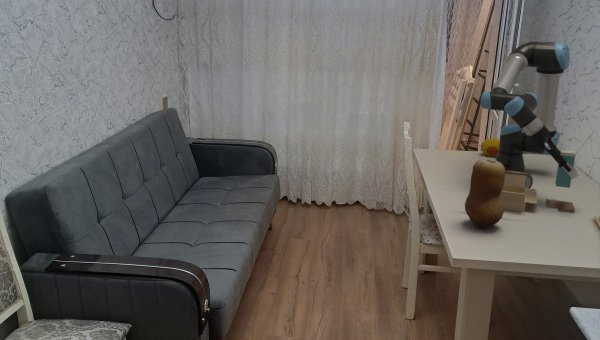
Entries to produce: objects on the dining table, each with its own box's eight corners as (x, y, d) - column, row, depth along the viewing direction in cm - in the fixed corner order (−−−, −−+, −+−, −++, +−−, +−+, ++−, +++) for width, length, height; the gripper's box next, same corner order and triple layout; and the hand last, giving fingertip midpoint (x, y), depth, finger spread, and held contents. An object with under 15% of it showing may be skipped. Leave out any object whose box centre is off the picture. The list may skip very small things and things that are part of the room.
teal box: (555, 186, 208) (561, 152, 204) (555, 182, 212) (560, 149, 208) (570, 187, 206) (575, 153, 202) (569, 184, 210) (574, 150, 206)
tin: (531, 190, 234) (533, 172, 231) (531, 192, 231) (534, 174, 229) (496, 186, 238) (498, 168, 236) (496, 188, 236) (498, 170, 233)
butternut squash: (508, 230, 187) (517, 164, 180) (476, 234, 184) (484, 166, 177) (485, 217, 200) (492, 154, 193) (454, 220, 196) (461, 156, 189)
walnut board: (546, 209, 210) (546, 206, 210) (545, 201, 219) (546, 198, 218) (574, 212, 206) (574, 210, 206) (572, 205, 215) (572, 202, 215)
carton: (472, 209, 209) (475, 187, 206) (478, 190, 232) (480, 171, 229) (535, 218, 200) (538, 195, 197) (534, 198, 223) (537, 177, 221)
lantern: (525, 139, 285) (469, 133, 299) (522, 146, 278) (465, 140, 292) (523, 155, 290) (468, 148, 304) (520, 163, 282) (464, 155, 296)
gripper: (527, 132, 218) (564, 175, 216) (527, 140, 202) (567, 186, 200) (543, 121, 214) (581, 164, 213) (544, 128, 198) (585, 175, 197)
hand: (574, 175), depth 206 cm, fingers closed on teal box, 5 cm apart
